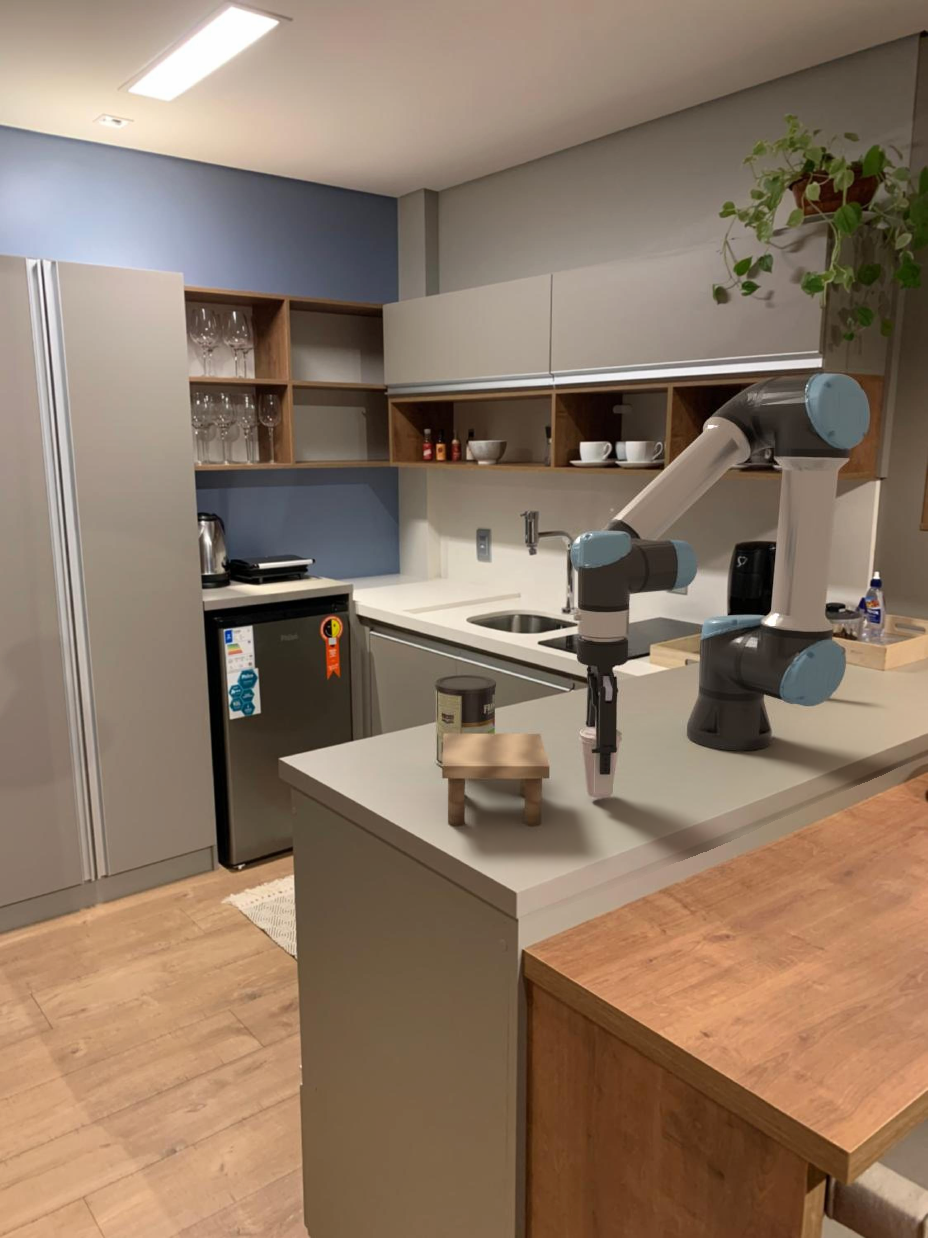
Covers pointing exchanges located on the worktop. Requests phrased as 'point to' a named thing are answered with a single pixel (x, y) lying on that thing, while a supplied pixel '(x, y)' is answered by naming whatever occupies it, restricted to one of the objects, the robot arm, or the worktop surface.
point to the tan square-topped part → (494, 768)
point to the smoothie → (590, 743)
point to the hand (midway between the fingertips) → (599, 784)
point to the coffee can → (463, 707)
